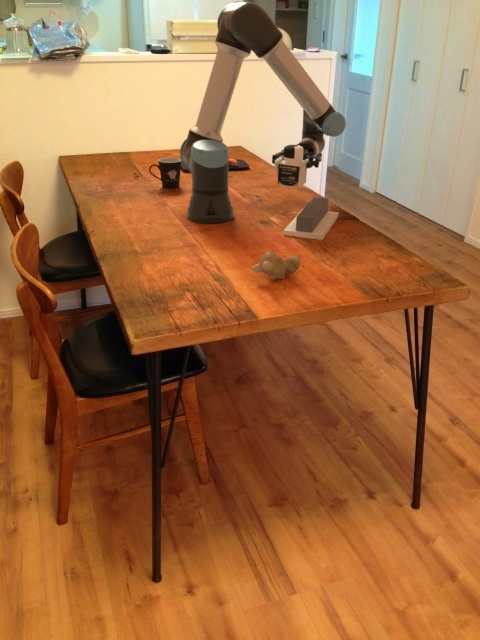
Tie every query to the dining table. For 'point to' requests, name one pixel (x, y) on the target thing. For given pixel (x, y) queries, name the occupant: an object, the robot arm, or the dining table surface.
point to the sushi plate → (230, 164)
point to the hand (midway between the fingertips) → (289, 166)
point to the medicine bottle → (292, 167)
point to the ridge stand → (312, 220)
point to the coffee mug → (169, 172)
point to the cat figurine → (277, 265)
